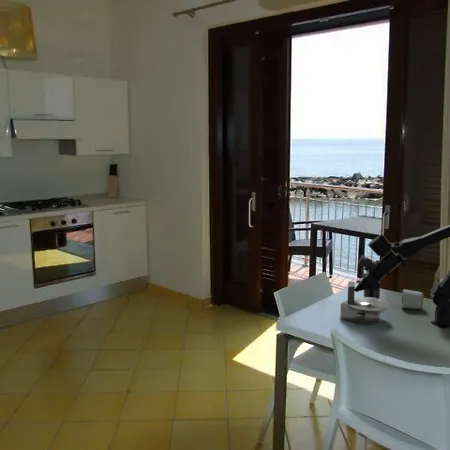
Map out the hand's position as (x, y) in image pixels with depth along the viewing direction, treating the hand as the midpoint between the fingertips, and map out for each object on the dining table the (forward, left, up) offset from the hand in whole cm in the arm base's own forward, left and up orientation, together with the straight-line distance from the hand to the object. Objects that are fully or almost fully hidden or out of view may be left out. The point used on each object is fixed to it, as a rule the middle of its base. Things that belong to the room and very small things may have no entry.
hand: (355, 290), depth 199 cm
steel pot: (-1, -2, -11) cm, 11 cm away
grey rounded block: (+7, -30, -11) cm, 33 cm away
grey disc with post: (-2, -4, -5) cm, 7 cm away
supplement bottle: (+17, -17, -11) cm, 27 cm away
